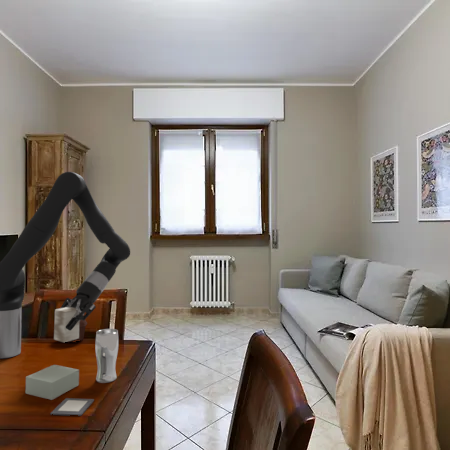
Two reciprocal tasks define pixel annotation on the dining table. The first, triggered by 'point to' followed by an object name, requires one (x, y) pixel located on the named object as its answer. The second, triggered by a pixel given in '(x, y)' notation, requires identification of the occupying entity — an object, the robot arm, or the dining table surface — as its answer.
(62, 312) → the ivory block
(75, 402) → the tile
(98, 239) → the robot arm
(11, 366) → the dining table surface
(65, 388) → the sage base block
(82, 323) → the muffin
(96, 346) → the beer glass
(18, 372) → the dining table surface
